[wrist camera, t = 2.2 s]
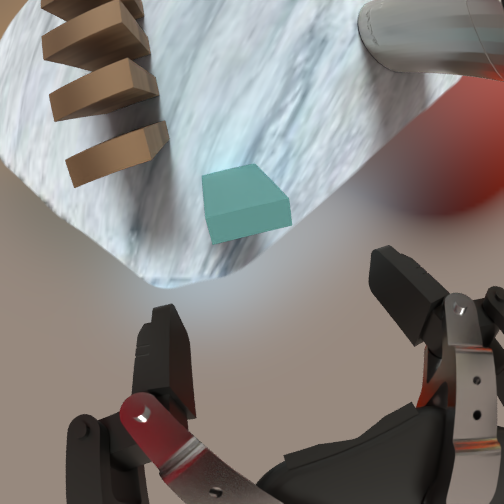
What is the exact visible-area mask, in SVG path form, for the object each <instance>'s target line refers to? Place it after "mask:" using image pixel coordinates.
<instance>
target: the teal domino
mask: <svg viewBox="0 0 504 504" xmlns="http://www.w3.org/2000/svg"><path fill="white" fill-rule="evenodd" d="M202 185H203V197H204V209H205V219H206V222H207V226H208V230H209V233H210V237H211V240H212V244H213V245H214V244H218V243H222V242H226V241H230V240H234V239H238V238H242V237H246V236H250V235H254V234H258V233H262V232H267V231H271V230H275V229H279V228H283V227H287V226H291V225H292V219H291V211H290V202H289V198H288V197H287V196H286V195H285V194H284V193H283V192H282V191H281V190H280V188H279V187H278V186H277V185H276V184H275V183H274V182H273V181H272V180H271V179H270V178H269V177H268V176H267V175H266V174H265V173H264V172H263V171H262V170H261V169H260V168H259V167H258V166H257V165H256V164H250V165H246V166H241V167H236V168H232V169H228V170H223V171H219V172H215V173H211V174H207V175H203V176H202Z"/></svg>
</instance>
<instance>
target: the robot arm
mask: <svg viewBox="0 0 504 504" xmlns="http://www.w3.org/2000/svg"><path fill="white" fill-rule="evenodd" d="M358 26H359V31H360V35H361V38H362V40H363V42H364V44H365V46H366V48H367V49H368V50H369V52H370V53H371V55H372V56H373V57H374V58H375V59H376V60H377V61H378V62H379V63H381V64H382V65H383V66H385V67H386V68H388V69H390V70H393V71H395V72H415V73H439V74H453V75H463V76H473V77H479V78H486V79H492V80H497V81H503V82H504V0H373V1H370V2H368V3H367V4H365V5H364V6H363V7H362V8H361V10H360V13H359V17H358ZM369 287H370V289H371V292H372V293H373V295H374V296H375V297H376V298H377V300H378V301H379V302H380V303H381V304H382V306H383V307H384V308H385V309H386V311H387V312H388V313H389V314H390V316H391V317H392V318H393V319H394V321H395V322H396V323H397V325H398V326H399V327H400V328H401V330H402V331H403V332H404V334H405V335H406V336H407V337H408V339H409V340H410V341H411V343H412V344H413V345H414V347H415V346H416V345H418V344H420V343H422V342H425V344H426V346H425V349H424V369H423V382H422V390H421V393H420V396H419V399H418V402H417V406H416V408H415V407H414V405H413V404H412V402H410V403H409V404H407V405H405V406H403V407H402V408H400V409H398V410H396V411H394V412H392V413H390V414H388V415H386V416H385V417H383V418H382V419H381V420H380V421H379V422H377V423H376V424H375V425H374V426H372V427H371V428H370V429H369V430H367V431H366V432H365V433H364V434H362V435H361V436H360V437H358V438H356V439H352V440H346V441H340V442H333V443H325V444H318V445H315V446H312V447H309V448H306V449H303V450H300V451H296V452H293V453H289V454H286V455H284V458H285V461H284V462H282V463H280V464H278V465H276V466H275V467H274V468H272V469H271V470H269V471H268V472H267V473H266V474H265V475H264V476H263V477H262V478H261V479H260V480H259V481H258V482H257V484H256V485H255V484H254V483H252V482H251V481H250V480H248V479H247V478H245V477H244V476H243V475H241V474H240V473H239V472H237V471H236V470H234V469H233V468H232V467H231V466H229V465H228V464H227V463H225V462H224V461H223V460H221V459H220V458H219V457H218V456H217V455H216V454H214V453H213V452H212V451H211V450H210V449H208V448H207V447H206V446H205V445H204V444H202V442H200V441H199V440H198V439H197V438H196V437H195V436H194V435H193V434H191V433H190V432H189V431H188V421H187V420H188V419H195V418H196V410H195V401H194V389H193V378H192V366H191V351H190V341H189V337H188V334H187V331H186V329H185V327H184V325H183V323H182V321H181V319H180V317H179V315H178V312H177V310H176V309H175V306H174V305H173V304H168V305H164V306H159V307H155V308H153V311H152V320H151V323H146V324H144V325H143V327H142V329H141V330H140V332H139V334H138V337H137V345H136V346H137V349H136V354H135V356H136V358H135V364H134V373H133V385H132V394H131V396H129V397H128V398H127V399H126V400H125V401H124V402H123V404H122V405H121V408H120V411H119V412H117V413H115V414H113V415H110V416H108V417H105V418H103V419H100V420H97V419H95V418H94V417H92V416H91V415H87V414H83V415H79V416H77V417H76V418H75V419H73V420H72V422H71V423H70V425H69V428H68V432H67V447H66V449H67V450H66V499H67V504H149V499H148V493H147V486H146V478H145V470H144V464H146V463H149V462H153V463H154V464H155V465H156V467H157V468H158V469H159V471H160V473H159V475H160V477H161V478H162V480H163V481H164V482H165V483H166V484H167V485H168V486H169V487H170V488H171V490H172V491H173V492H175V493H176V494H177V495H178V497H179V498H181V499H182V500H183V501H184V502H185V503H186V504H504V427H500V426H497V396H498V397H499V399H500V401H501V403H502V404H503V406H504V349H503V348H502V347H501V345H500V344H499V343H498V341H497V340H496V339H495V337H496V335H497V333H498V332H499V330H501V331H502V332H503V334H504V289H503V288H501V287H497V286H493V287H491V288H489V289H488V291H487V293H486V296H485V298H482V299H477V300H472V299H471V298H469V297H468V296H466V295H464V294H462V293H452V294H450V293H449V292H448V291H447V290H446V289H445V288H444V287H443V286H442V285H440V283H439V282H437V281H436V280H435V279H434V278H433V277H432V276H431V275H430V274H429V273H427V271H425V270H424V269H423V268H422V267H420V265H419V264H418V263H416V261H414V260H413V259H412V258H410V257H408V256H406V255H404V254H400V253H399V252H397V251H396V250H395V249H394V248H393V247H392V246H390V245H388V246H385V247H381V248H378V249H375V250H373V251H372V253H371V263H370V272H369Z"/></svg>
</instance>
